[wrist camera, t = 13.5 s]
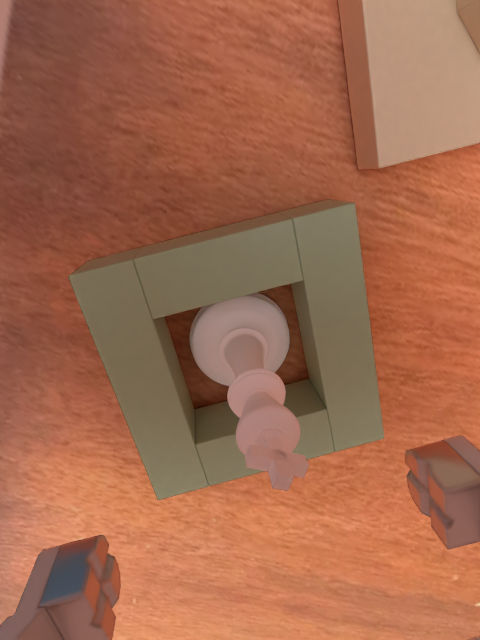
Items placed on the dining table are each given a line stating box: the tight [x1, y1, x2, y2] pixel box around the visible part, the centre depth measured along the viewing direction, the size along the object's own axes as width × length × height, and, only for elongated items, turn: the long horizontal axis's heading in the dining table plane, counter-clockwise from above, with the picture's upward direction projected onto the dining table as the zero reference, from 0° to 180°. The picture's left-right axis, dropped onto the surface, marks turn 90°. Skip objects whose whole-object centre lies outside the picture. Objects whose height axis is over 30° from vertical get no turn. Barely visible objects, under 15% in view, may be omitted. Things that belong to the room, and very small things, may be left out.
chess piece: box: [189, 293, 309, 491], centre depth 15 cm, size 5×5×10 cm
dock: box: [68, 199, 384, 500], centre depth 18 cm, size 11×11×3 cm
